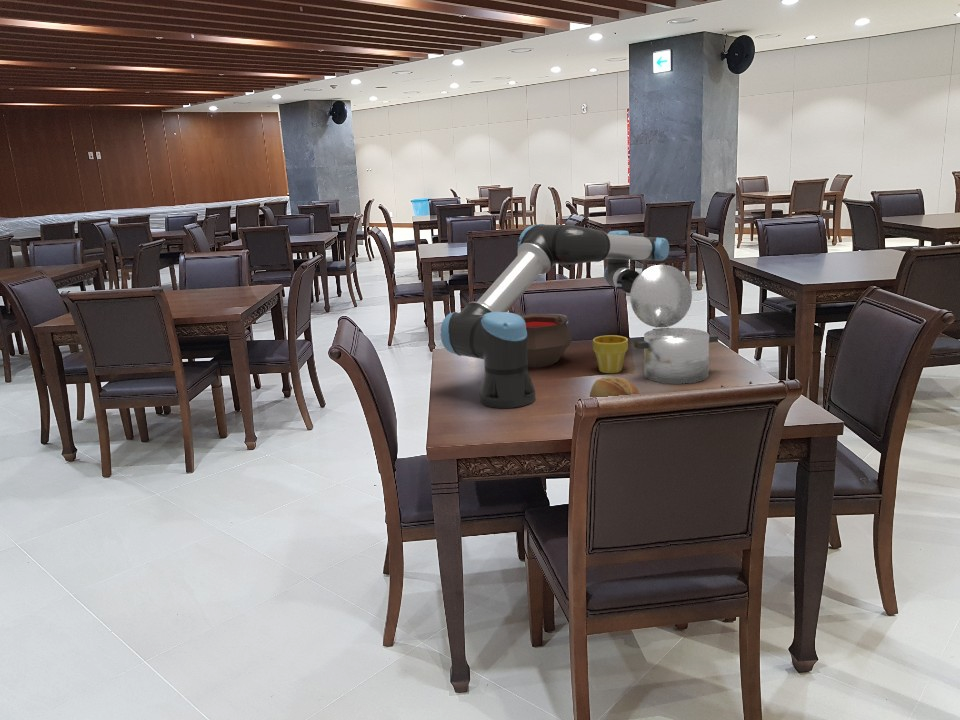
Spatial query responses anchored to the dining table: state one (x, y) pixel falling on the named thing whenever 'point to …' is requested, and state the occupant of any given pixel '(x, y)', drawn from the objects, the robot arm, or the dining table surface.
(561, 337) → the brown clay bowl
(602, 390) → the bread roll
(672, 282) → the cooker lid
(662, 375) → the pressure cooker
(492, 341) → the robot arm
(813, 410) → the dining table surface
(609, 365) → the plant pot
